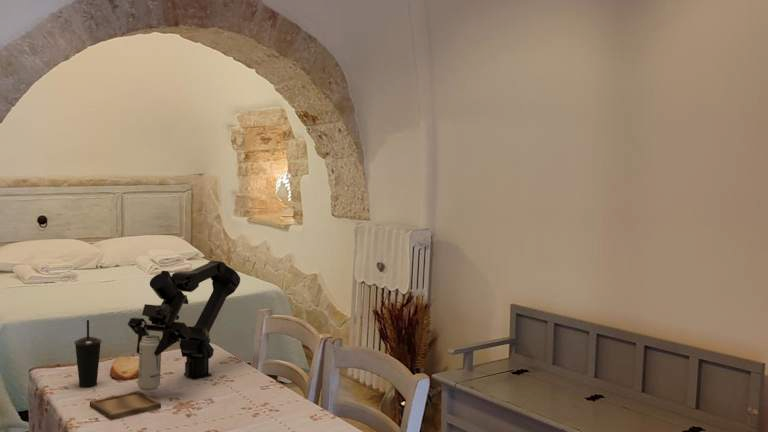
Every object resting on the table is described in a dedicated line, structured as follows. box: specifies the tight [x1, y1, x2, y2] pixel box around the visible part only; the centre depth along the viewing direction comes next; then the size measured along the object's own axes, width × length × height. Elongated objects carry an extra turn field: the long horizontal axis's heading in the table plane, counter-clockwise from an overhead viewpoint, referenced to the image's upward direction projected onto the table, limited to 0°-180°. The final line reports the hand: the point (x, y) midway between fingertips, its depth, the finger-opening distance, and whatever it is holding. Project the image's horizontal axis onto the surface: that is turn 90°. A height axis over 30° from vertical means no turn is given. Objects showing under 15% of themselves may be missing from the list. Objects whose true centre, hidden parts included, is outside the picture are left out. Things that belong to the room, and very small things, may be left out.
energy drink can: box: [137, 334, 162, 392], centre depth 201 cm, size 6×6×15 cm
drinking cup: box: [73, 319, 102, 389], centre depth 211 cm, size 8×8×20 cm
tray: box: [89, 390, 162, 421], centre depth 193 cm, size 14×14×2 cm
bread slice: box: [109, 356, 139, 382], centre depth 228 cm, size 18×18×4 cm
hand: (146, 354), depth 199 cm, fingers closed on energy drink can, 6 cm apart
